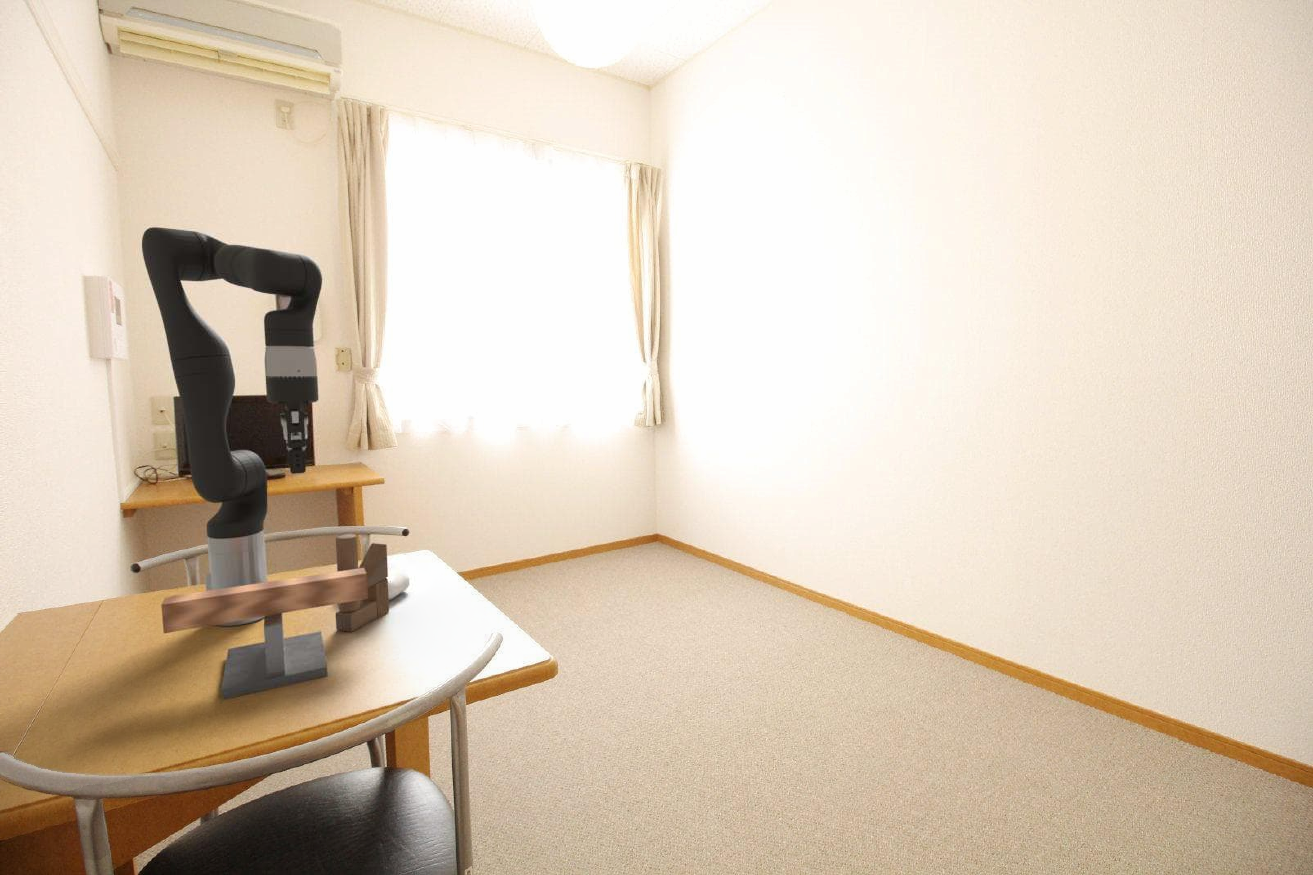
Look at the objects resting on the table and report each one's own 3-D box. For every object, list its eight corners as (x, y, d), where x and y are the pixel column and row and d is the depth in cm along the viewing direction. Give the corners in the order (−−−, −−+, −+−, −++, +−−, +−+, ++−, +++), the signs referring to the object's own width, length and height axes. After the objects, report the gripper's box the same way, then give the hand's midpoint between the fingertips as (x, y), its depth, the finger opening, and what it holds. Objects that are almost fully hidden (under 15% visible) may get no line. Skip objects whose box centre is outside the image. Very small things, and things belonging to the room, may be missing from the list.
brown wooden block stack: (390, 611, 126) (386, 525, 124) (351, 633, 116) (346, 539, 114) (374, 609, 127) (370, 524, 125) (335, 631, 117) (330, 538, 115)
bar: (163, 633, 93) (161, 604, 92) (167, 625, 96) (164, 597, 95) (367, 598, 107) (366, 573, 107) (365, 592, 110) (363, 567, 110)
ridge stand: (327, 675, 99) (324, 618, 98) (221, 699, 92) (217, 638, 91) (321, 639, 113) (318, 588, 112) (228, 657, 106) (224, 603, 105)
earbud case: (390, 607, 129) (389, 582, 128) (333, 603, 131) (331, 579, 130) (415, 590, 139) (414, 567, 138) (362, 587, 141) (361, 564, 140)
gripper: (319, 374, 99) (325, 473, 101) (314, 374, 112) (319, 462, 113) (264, 374, 96) (271, 477, 97) (265, 374, 108) (271, 466, 109)
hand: (297, 469), depth 105 cm, fingers open, 8 cm apart
